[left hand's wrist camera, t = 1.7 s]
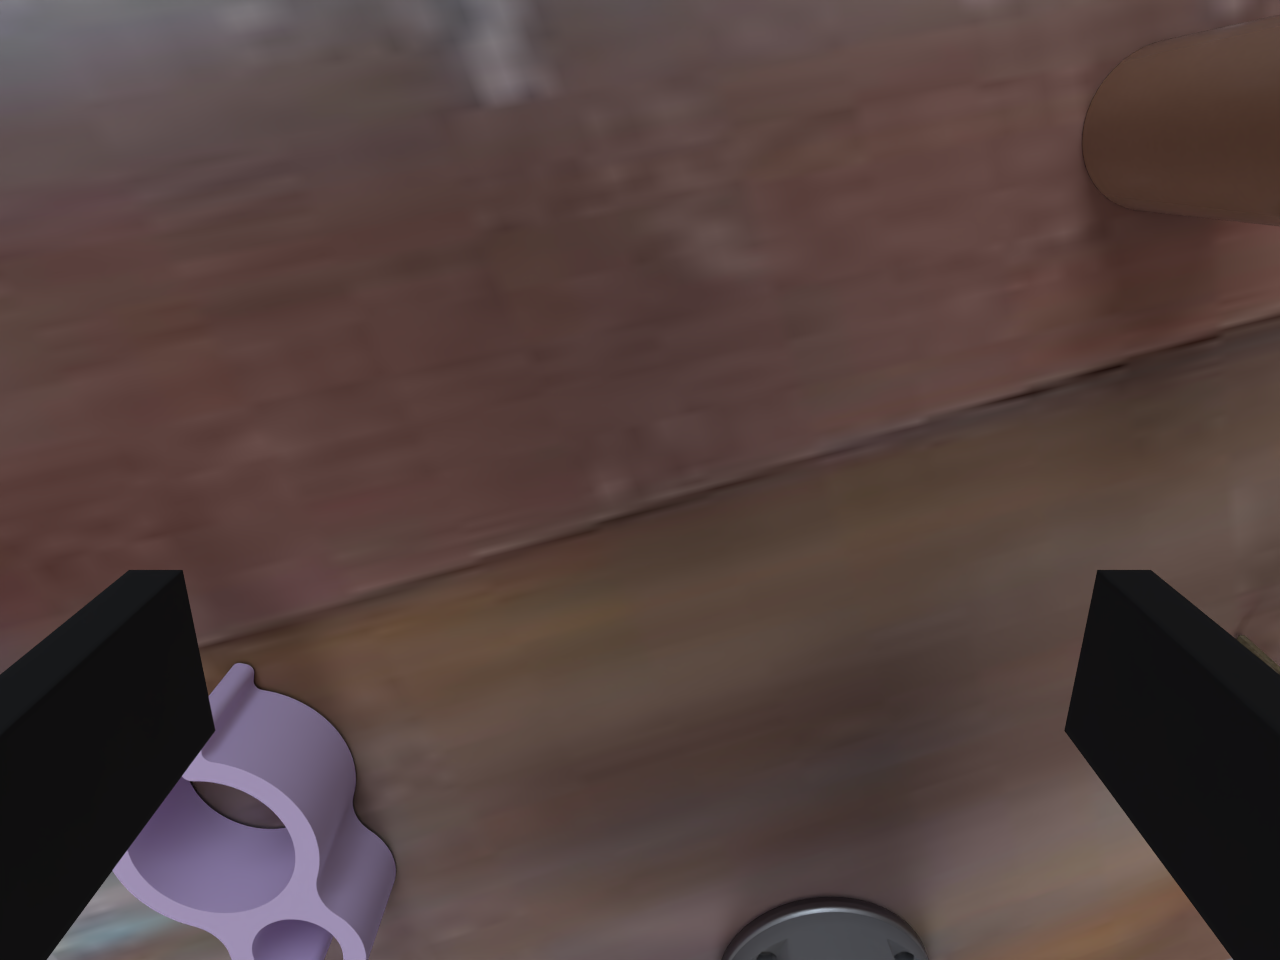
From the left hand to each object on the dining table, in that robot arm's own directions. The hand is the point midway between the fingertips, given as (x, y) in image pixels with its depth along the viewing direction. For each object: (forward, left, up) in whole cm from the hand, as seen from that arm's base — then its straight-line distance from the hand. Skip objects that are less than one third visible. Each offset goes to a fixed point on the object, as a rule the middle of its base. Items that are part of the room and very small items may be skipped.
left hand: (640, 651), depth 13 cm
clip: (-33, +24, -36) cm, 54 cm away
